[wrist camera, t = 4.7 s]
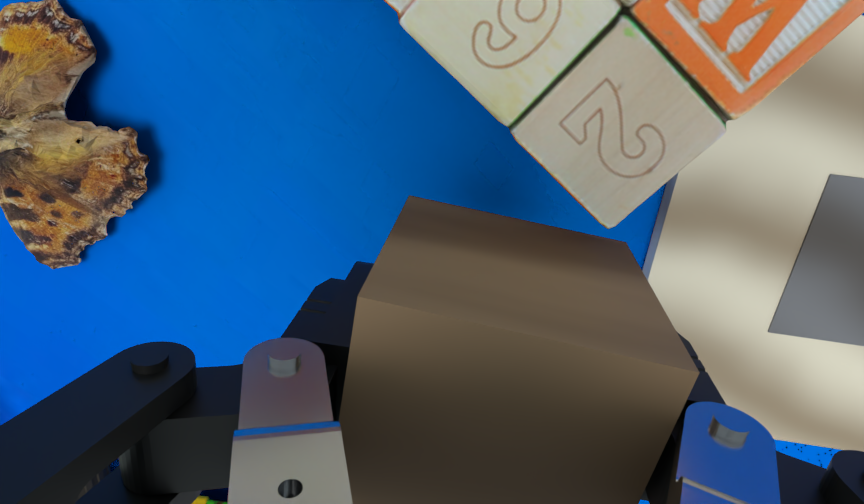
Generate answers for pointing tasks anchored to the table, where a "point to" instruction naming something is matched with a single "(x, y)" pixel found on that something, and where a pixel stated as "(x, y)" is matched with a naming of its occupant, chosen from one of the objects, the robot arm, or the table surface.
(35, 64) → the butterfly model
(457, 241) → the walnut cube
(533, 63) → the stack of blocks
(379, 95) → the table surface
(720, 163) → the cream flat pad
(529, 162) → the table surface
